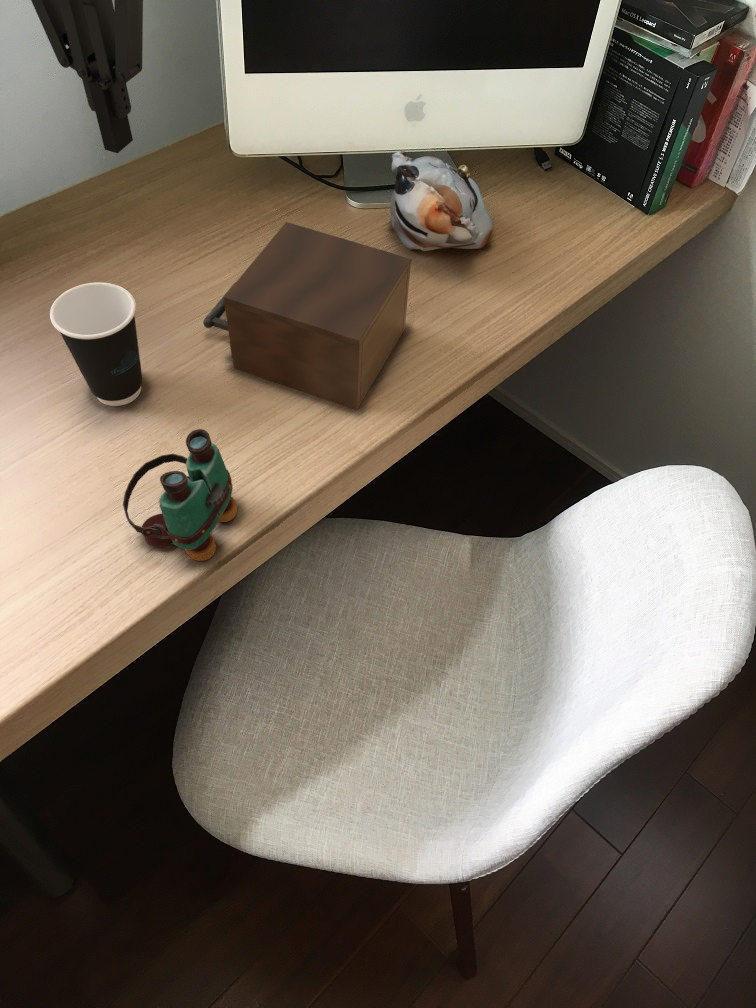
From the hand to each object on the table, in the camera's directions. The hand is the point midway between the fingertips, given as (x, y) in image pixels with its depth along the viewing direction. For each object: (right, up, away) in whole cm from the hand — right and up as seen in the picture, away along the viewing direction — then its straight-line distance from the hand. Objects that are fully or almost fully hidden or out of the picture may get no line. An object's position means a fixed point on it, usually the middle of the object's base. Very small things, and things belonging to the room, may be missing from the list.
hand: (118, 144), depth 78 cm
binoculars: (+7, -38, -4) cm, 38 cm away
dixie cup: (-2, -24, +6) cm, 24 cm away
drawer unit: (+19, -18, +11) cm, 29 cm away
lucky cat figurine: (+34, -1, +24) cm, 41 cm away
